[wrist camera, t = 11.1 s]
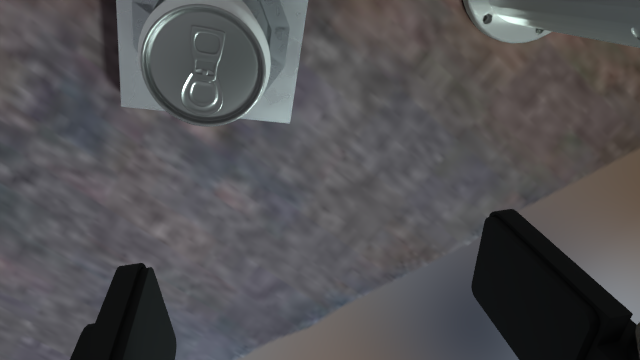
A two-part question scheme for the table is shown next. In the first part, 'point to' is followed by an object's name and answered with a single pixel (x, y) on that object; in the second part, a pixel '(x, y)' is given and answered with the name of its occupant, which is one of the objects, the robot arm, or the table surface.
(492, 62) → the table surface
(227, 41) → the can
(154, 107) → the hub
